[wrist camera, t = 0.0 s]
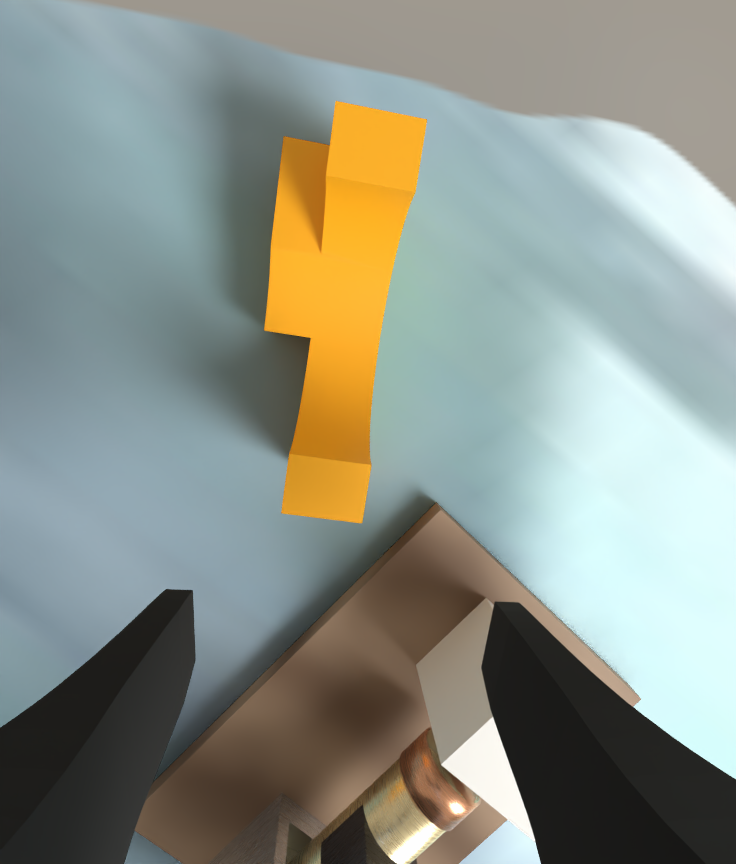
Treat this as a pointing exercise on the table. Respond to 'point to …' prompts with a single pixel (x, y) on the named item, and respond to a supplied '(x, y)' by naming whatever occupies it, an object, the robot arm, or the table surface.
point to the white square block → (469, 716)
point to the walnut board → (345, 701)
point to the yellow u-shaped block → (338, 292)
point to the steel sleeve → (272, 835)
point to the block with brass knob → (395, 813)
